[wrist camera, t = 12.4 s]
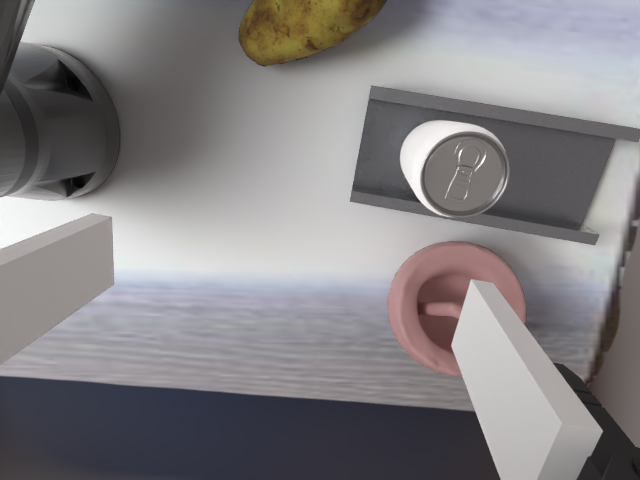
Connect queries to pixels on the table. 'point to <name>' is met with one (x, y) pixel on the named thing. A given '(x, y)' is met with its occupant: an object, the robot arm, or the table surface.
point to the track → (521, 149)
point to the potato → (300, 27)
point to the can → (455, 167)
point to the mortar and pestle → (444, 298)
